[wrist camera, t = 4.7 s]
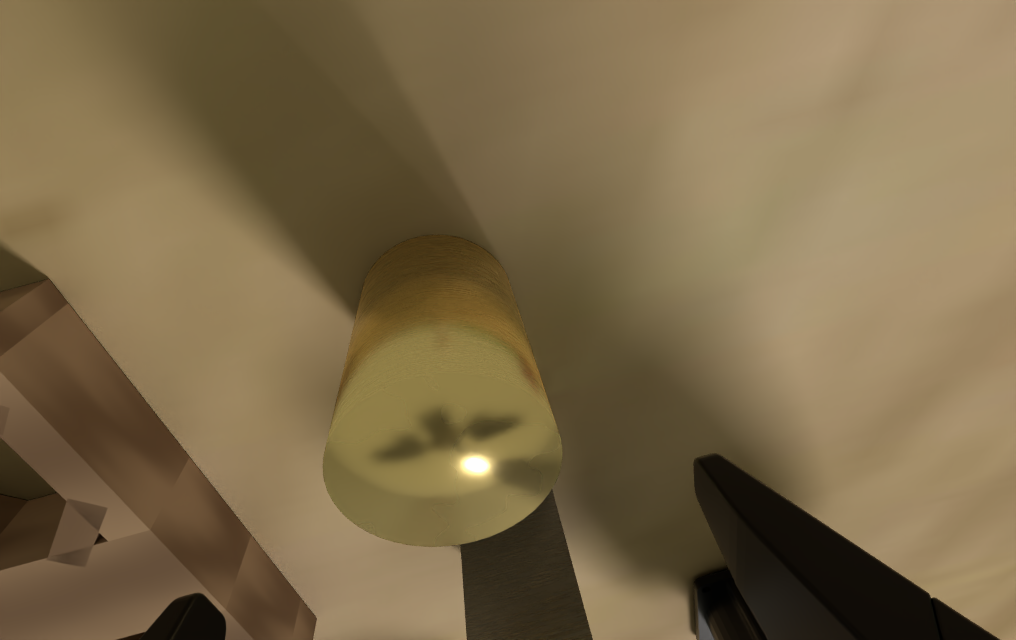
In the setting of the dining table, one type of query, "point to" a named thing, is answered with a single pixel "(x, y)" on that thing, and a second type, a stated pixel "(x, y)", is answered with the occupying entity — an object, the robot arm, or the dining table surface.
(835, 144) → the dining table surface
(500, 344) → the round bit
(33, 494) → the dining table surface
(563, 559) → the square bit
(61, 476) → the bore block
